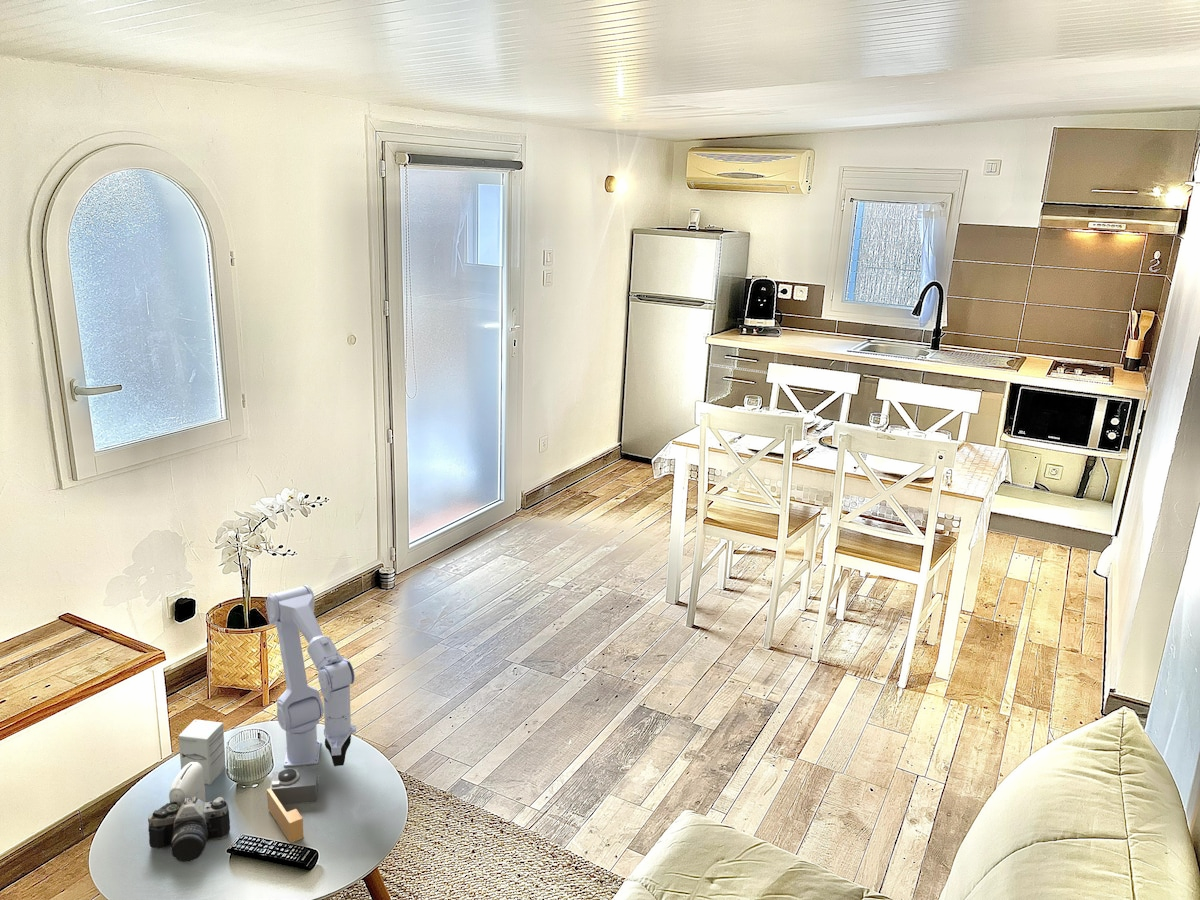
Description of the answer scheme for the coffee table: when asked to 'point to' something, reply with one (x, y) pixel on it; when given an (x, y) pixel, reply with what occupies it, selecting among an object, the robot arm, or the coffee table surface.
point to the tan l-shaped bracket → (285, 818)
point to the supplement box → (203, 747)
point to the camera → (188, 826)
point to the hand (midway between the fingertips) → (339, 764)
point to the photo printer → (188, 784)
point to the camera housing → (295, 786)
